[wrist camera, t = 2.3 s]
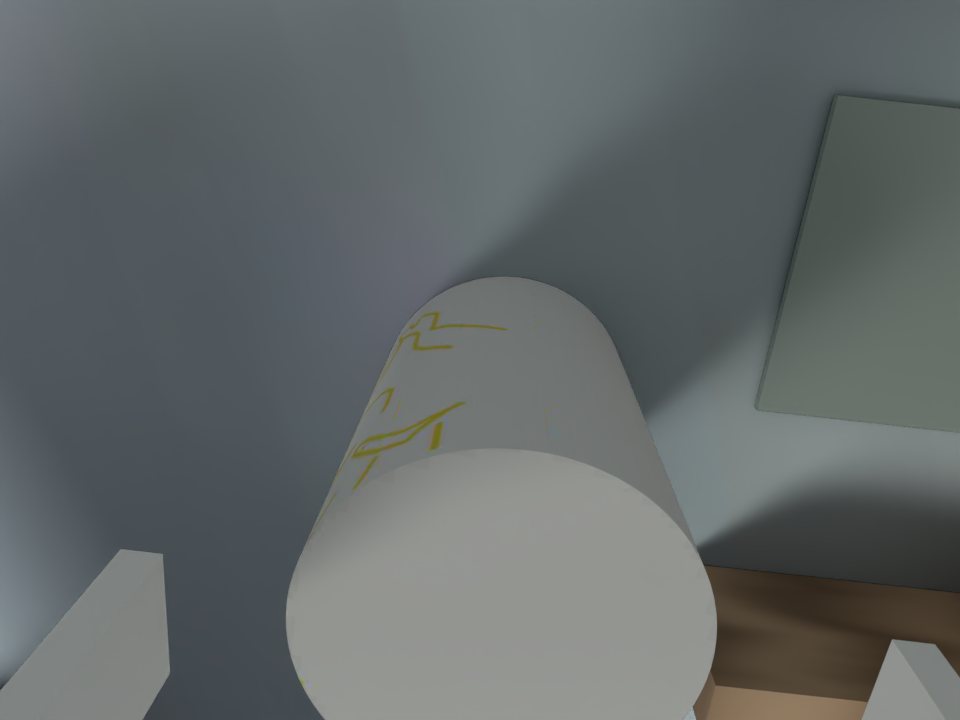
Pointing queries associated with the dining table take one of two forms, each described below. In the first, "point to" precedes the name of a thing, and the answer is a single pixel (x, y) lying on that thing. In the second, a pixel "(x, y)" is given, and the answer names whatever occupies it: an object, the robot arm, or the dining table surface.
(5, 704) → the robot arm
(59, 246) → the dining table surface
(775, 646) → the brown wooden l-shaped wall
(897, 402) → the pad
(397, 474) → the cup
